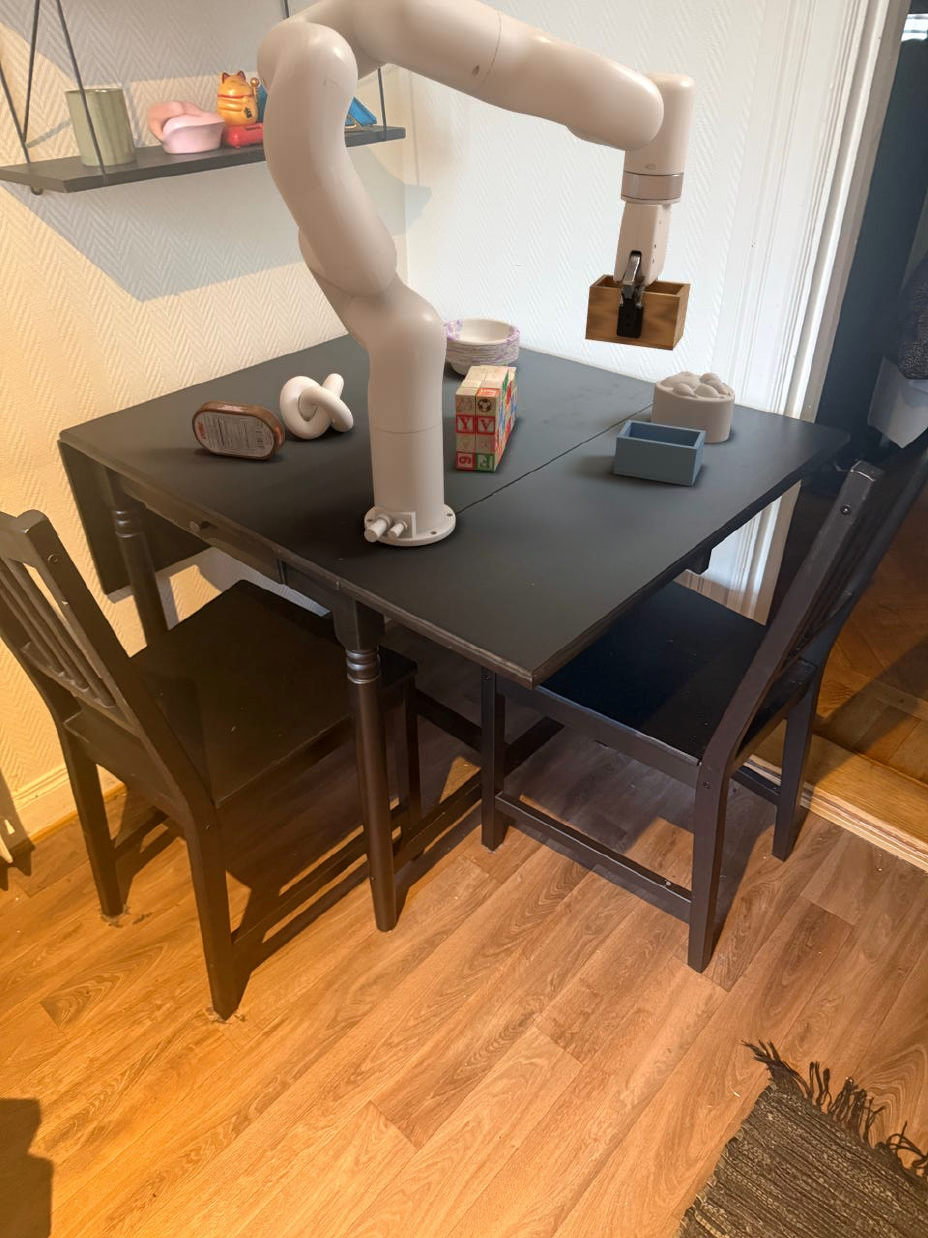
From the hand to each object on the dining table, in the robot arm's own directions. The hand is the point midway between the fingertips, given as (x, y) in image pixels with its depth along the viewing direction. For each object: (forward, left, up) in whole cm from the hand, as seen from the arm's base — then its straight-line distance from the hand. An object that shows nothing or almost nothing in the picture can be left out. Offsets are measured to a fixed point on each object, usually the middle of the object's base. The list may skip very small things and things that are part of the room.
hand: (635, 327), depth 126 cm
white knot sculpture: (+1, +52, -23) cm, 57 cm away
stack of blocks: (+6, +24, -23) cm, 34 cm away
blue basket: (+6, -4, -23) cm, 24 cm away
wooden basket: (0, 0, -1) cm, 1 cm away
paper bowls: (+38, +38, -24) cm, 59 cm away
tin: (-13, +59, -24) cm, 64 cm away
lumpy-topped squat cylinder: (+24, -6, -23) cm, 34 cm away
